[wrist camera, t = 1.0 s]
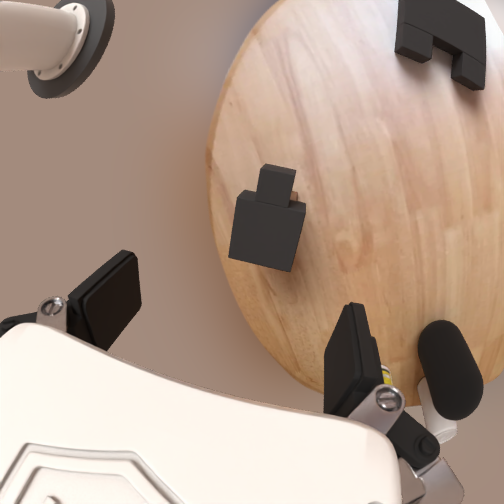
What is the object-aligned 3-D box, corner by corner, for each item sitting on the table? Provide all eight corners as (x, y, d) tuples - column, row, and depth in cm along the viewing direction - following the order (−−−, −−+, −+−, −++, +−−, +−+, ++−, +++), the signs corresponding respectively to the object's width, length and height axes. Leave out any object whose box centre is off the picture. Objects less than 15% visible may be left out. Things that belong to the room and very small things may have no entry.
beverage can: (414, 391, 37) (426, 448, 26) (418, 375, 35) (433, 436, 24) (438, 385, 35) (453, 439, 25) (443, 368, 33) (462, 426, 23)
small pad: (292, 258, 23) (290, 272, 21) (235, 244, 24) (227, 257, 22) (312, 173, 20) (313, 179, 18) (249, 160, 20) (242, 164, 18)
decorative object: (403, 340, 32) (427, 431, 19) (430, 304, 29) (471, 395, 16) (434, 348, 32) (460, 431, 19) (460, 315, 29) (500, 397, 16)
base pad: (394, 52, 18) (401, 46, 16) (398, -16, 14) (405, -25, 11) (472, 91, 17) (484, 89, 15) (474, 22, 13) (484, 18, 11)
